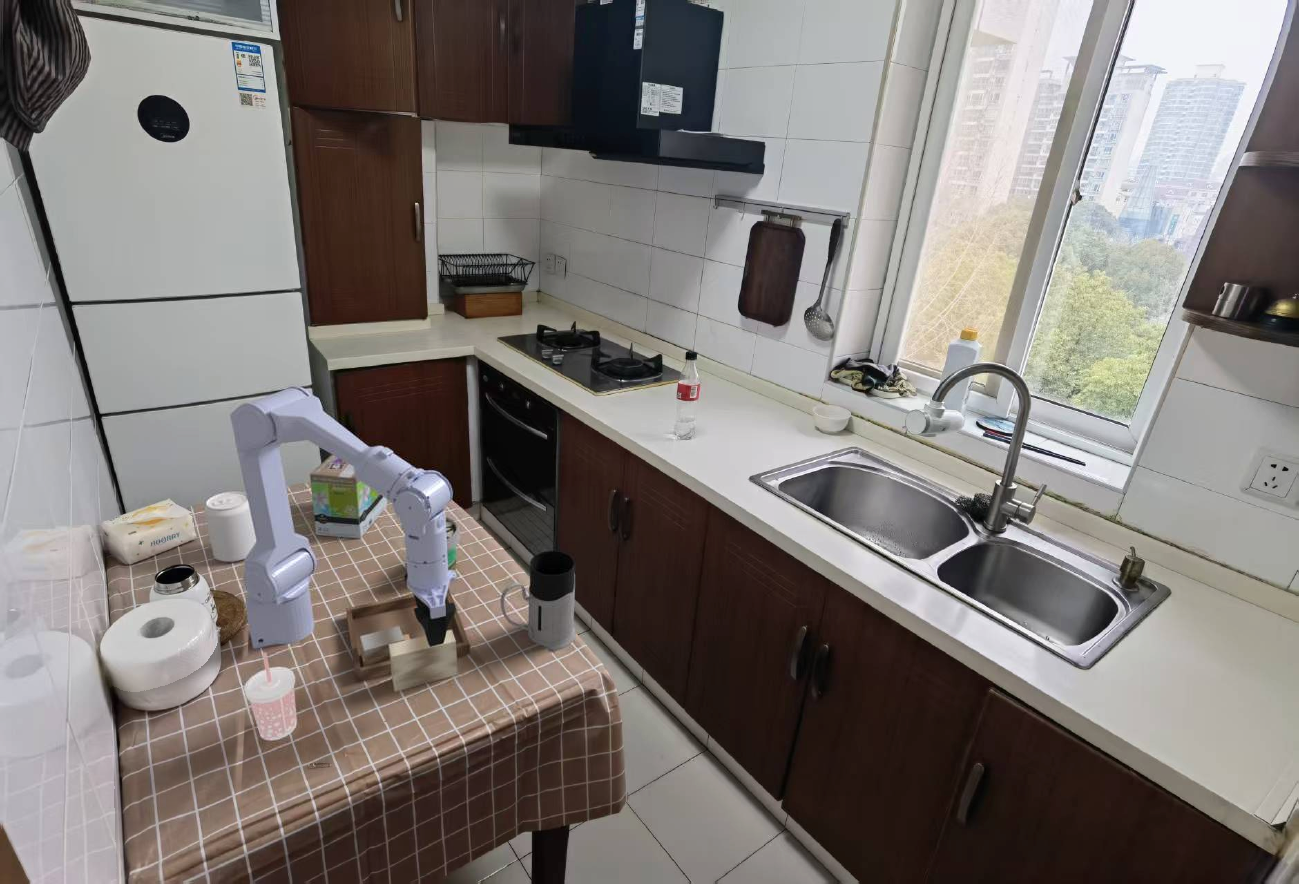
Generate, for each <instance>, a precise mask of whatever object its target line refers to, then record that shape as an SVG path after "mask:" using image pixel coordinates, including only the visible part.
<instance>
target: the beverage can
mask: <svg viewBox="0 0 1299 884" xmlns="http://www.w3.org/2000/svg"><path fill="white" fill-rule="evenodd" d="M203 510H204V511H203V512H204V517H205V521H206V525H207V529H208V535H209V540H210V541H209V542H210V545H211V550H212V554H213V557H214V558H215V559H216V560H218V561H221V562H227V563H229V562H239V561H242V560H243V561H244V560H245V558H246V557H247V555H248V554H249V552H250V551H251V549H252V548H253V546H254V545H255V543H256V536H255V531H254V527H253V522H252V517H251V513H250V508H249V503H248V499H247V494H246V492H243V491H228V492H227V491H226V492H222V493H218V494H215V495H213V496H211V497H210V498H208V499H207V500H206V503H205V507H204V509H203Z"/></svg>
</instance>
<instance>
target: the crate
mask: <svg viewBox="0 0 1299 884" xmlns="http://www.w3.org/2000/svg"><path fill="white" fill-rule="evenodd" d="M453 602H454V599H453V596H452V593H451V591H450V588H449V587H448V591H447V595H446V599H445V604H449V603H453ZM454 603H455V602H454ZM455 607H456V605H455ZM414 608H417V604H416V600H415V597H414V594H413V593H412V594H409V595H408V594H407V595H403V596H399V597H394V598H388V599H385V600H380V601H379V600H378V601H374V602H369V603H365V604H359V605H354V606H351V607H345V612H346V613H345V614H346V619H347V625H348V632H349V633H348V634H349V639H350V647H351V653H352V660H353V667H354V668H353V669H354V675H355V680H356V681H355V682H356V684H358V683H361V682H365V681H369V680H373V679H377V678H381V677H385V676H389V675H392V674H391V663H390V661H386V662H382V663H378V664H374V665H370V666H365V667H363V661H362V655H361V647H360V645H361V639H360V636H363V635H367V634H371V633H374V632H378V631H382V630H386V629H389V628H393V627H397V626H399V627H400V630H401V632H402V635H406V634H409V637H410V639H414V638H418V637H422V636H426V634H425V631H424V628H423V626H422V625H421V624H420V623H419V622H418V620H417V618H416V616H415V612H414ZM448 630H452V631H453V634H454V637H455V640H456V653H457V658H461V657H463V656H468V655H470V654H471V644H470V641H469V639H468V635H467V633H466V630H465V628H464V626H463V623H462V620H461V617H460V615H459V612H458V610H457V607H456V612H455V614H454V616H453V617H452V619H451V620H450V622H449V625H448V628H447V631H448Z"/></svg>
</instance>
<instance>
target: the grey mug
mask: <svg viewBox="0 0 1299 884" xmlns="http://www.w3.org/2000/svg"><path fill="white" fill-rule="evenodd" d="M575 562H576V561H575V560H574V558H573V556H571V555H570V554H568V553H566V552H563V551H559V550H548V551H542V552H539V553H537V554H535V555H534V556H533V557H532V558H531V560H530V562H529V587H528V597H527V592H526V588H525V586H524V585H523V584H522V583H520V582H513V583H511V584H509V585H508V586H506V587H505V588H504V590H503V591H502V593H501V595H500V609H501V612H502V615H503V616H504V618H505V620H506V621H507V622H508V623H509V624H510V625H512V626H515V627H517V628H519V629H523V630H526V631H527V635H528V637H529V639H530V640H531V641H532V642H534V643H536V644H537V645H540V646H545V647H546V649H547V651H548V652H554V651H559V650H563V649H565V648H567V647H569V646H570V645H571V644H572V643H573V642H574V641H575V639H576V636H577V635H576V629H575V627H574V620H575V617H574V614H575V592H576V591H575V590H576V589H575V588H576V574H575V568H576V566H575V565H576V564H575ZM514 587H520V588H521V591H522V598H523V600H524V601H526V602H528V626H526V625H522V624H519V623H517V622H514V621H513V620H511V618H509V616H508V615H507V612H506V608H505V597H506V596H507V593H509V591H510V590H512V589H513V588H514Z"/></svg>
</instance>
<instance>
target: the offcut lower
mask: <svg viewBox="0 0 1299 884" xmlns="http://www.w3.org/2000/svg"><path fill="white" fill-rule="evenodd" d="M403 638H404V641H405V640H410V637H409V634H406V635H403ZM360 647H361V645H360ZM361 655H362V661H363V667H365V666H370V665H374V664H378V663H382V662H386V661H390V654H388V655H384V656H381V657H377V658H374V659H370V660H367V661H366V660H365V657H364V654H363V650H362V647H361Z"/></svg>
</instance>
